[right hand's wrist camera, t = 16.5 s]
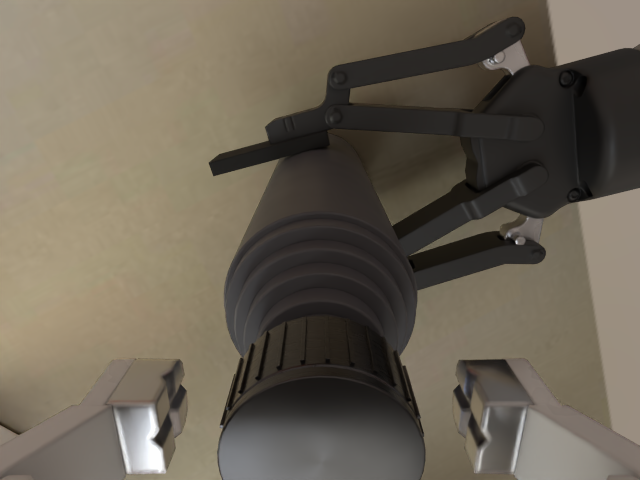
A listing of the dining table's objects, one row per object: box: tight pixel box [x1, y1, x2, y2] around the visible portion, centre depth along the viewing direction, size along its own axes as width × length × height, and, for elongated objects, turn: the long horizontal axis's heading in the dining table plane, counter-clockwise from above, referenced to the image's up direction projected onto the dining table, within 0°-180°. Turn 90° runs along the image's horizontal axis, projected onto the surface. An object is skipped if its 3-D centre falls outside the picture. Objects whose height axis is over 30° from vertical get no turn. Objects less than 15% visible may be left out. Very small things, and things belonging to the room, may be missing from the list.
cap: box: [217, 315, 425, 480], centre depth 9 cm, size 4×4×2 cm
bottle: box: [224, 133, 417, 358], centre depth 20 cm, size 6×6×24 cm
